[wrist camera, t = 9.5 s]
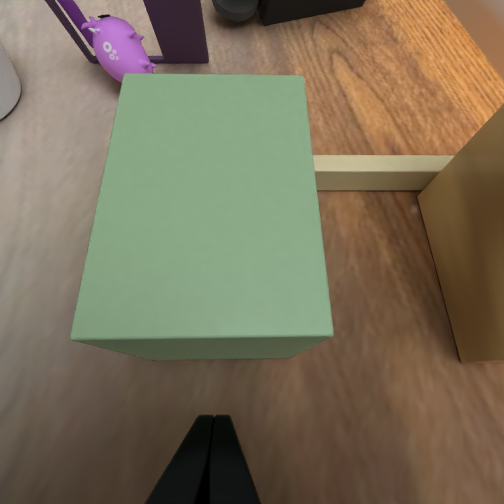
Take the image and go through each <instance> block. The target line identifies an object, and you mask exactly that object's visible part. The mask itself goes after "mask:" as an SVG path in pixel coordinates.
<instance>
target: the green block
mask: <svg viewBox="0 0 504 504" xmlns="http://www.w3.org/2000/svg"><path fill="white" fill-rule="evenodd" d="M333 334H334V331H333V322H332V314H331V305H330V297H329V288H328V280H327V271H326V263H325V254H324V246H323V237H322V229H321V220H320V212H319V203H318V195H317V186H316V178H315V169H314V161H313V152H312V144H311V135H310V127H309V118H308V110H307V101H306V93H305V84H304V77H303V76H302V75H234V74H155V73H125V74H124V76H123V80H122V85H121V90H120V95H119V100H118V105H117V110H116V114H115V119H114V124H113V129H112V134H111V139H110V143H109V148H108V153H107V158H106V163H105V168H104V173H103V177H102V182H101V187H100V192H99V197H98V202H97V207H96V211H95V216H94V221H93V226H92V231H91V236H90V241H89V245H88V250H87V255H86V260H85V265H84V270H83V274H82V279H81V284H80V289H79V294H78V299H77V304H76V308H75V313H74V318H73V323H72V328H71V333H70V340H73V341H76V342H80V343H84V344H88V345H93V346H97V347H101V348H105V349H109V350H113V351H117V352H121V353H125V354H129V355H133V356H137V357H141V358H145V359H149V360H208V359H268V358H291V357H293V356H295V355H297V354H299V353H301V352H303V351H305V350H307V349H309V348H311V347H313V346H314V345H316V344H318V343H320V342H322V341H324V340H326V339H328V338H330V337H332V336H333Z"/></svg>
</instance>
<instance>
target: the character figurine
mask: <svg viewBox="0 0 504 504" xmlns="http://www.w3.org/2000/svg"><path fill="white" fill-rule="evenodd" d="M212 2H213V5H214V7H215V9H216V10H217V11H218V13H219V14H221V15H222V16H223V17H225V18H226V19H229V20H232V21H244V20H247V19H249V18H250V17H252V16H253V15H254V14H255V12H256V10H257V11H258V13H259V16H260V19H262V22H263V25H264V26H265V25H270V24H275V23H280V22H285V21H290V20H295V19H300V18H305V17H310V16H315V15H320V14H325V13H330V12H335V11H340V10H345V9H350V8H355V7H360V6H362V5H363V4H364V2H365V0H212Z"/></svg>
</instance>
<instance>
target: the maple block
mask: <svg viewBox="0 0 504 504" xmlns="http://www.w3.org/2000/svg"><path fill="white" fill-rule="evenodd" d="M417 198H418V202H419V206H420V209H421V213H422V217H423V221H424V225H425V228H426V232H427V236H428V240H429V243H430V247H431V251H432V255H433V259H434V262H435V266H436V270H437V274H438V277H439V281H440V285H441V289H442V293H443V296H444V300H445V304H446V308H447V311H448V315H449V319H450V323H451V327H452V330H453V334H454V338H455V342H456V345H457V349H458V353H459V357H460V361H461V363H463V364H473V363H504V104H503V105H502V106H501V107H500V108H499V109H498V110H497V112H496V113H495V114H494V115H493V116H492V117H491V118H490V119H489V120H488V121H487V122H486V123H485V124H484V125H483V127H482V128H481V129H480V130H479V131H478V132H477V133H476V134H475V135H474V136H473V137H472V138H471V139H470V140H469V141H468V143H467V144H466V145H465V146H464V147H463V148H462V149H461V150H460V151H459V152H458V153H457V154H456V155H455V156H454V158H453V159H452V160H451V161H450V162H449V163H448V164H447V165H446V166H445V167H444V168H443V169H442V170H441V171H440V173H439V174H438V175H437V176H436V177H435V178H434V179H433V180H432V181H431V182H430V183H429V184H428V185H427V186H426V187H425V189H424V190H423V191H422V192H421V193H420V194H419V195H418V196H417Z"/></svg>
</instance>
